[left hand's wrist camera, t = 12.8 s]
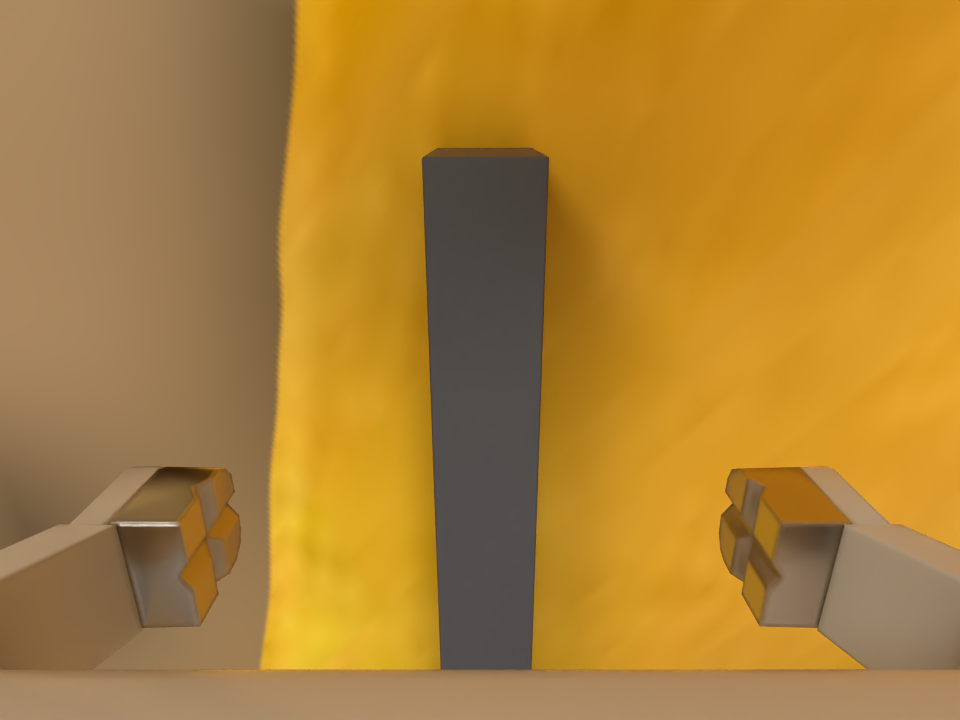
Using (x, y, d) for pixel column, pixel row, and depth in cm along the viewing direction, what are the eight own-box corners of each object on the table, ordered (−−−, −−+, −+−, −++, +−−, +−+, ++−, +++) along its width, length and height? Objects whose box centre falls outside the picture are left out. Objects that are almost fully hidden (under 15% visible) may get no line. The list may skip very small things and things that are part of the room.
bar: (436, 148, 29) (421, 157, 22) (532, 147, 29) (549, 156, 22) (457, 887, 49) (453, 1014, 42) (514, 887, 49) (519, 1014, 42)
